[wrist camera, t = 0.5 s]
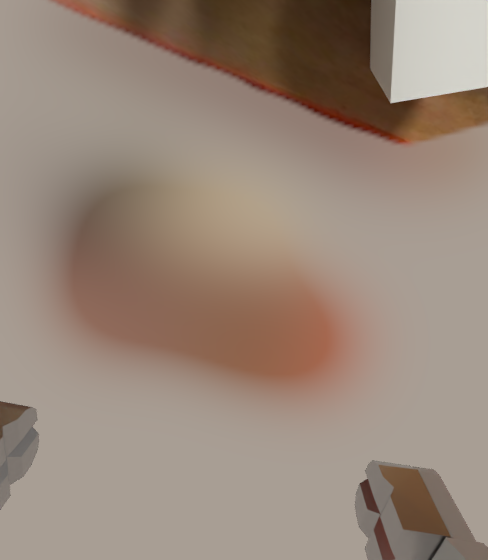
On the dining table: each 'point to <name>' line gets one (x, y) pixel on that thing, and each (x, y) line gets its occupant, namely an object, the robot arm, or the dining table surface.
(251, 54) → the dining table surface
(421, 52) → the key panel
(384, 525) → the robot arm
